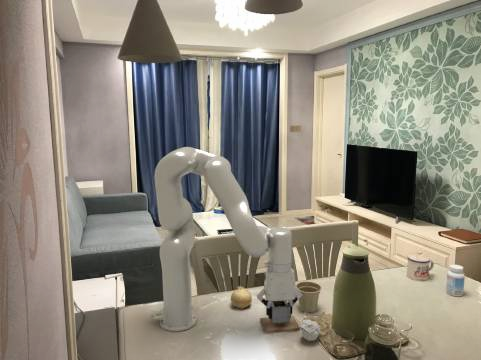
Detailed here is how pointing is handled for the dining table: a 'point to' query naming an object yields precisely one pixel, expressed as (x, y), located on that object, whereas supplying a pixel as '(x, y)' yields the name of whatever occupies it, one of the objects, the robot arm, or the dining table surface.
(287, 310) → the link
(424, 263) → the teacup with lid
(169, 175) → the robot arm
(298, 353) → the dining table surface
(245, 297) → the onion
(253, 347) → the dining table surface
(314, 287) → the flower pot
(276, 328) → the keeper
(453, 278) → the pill bottle
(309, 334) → the crumpled paper ball
